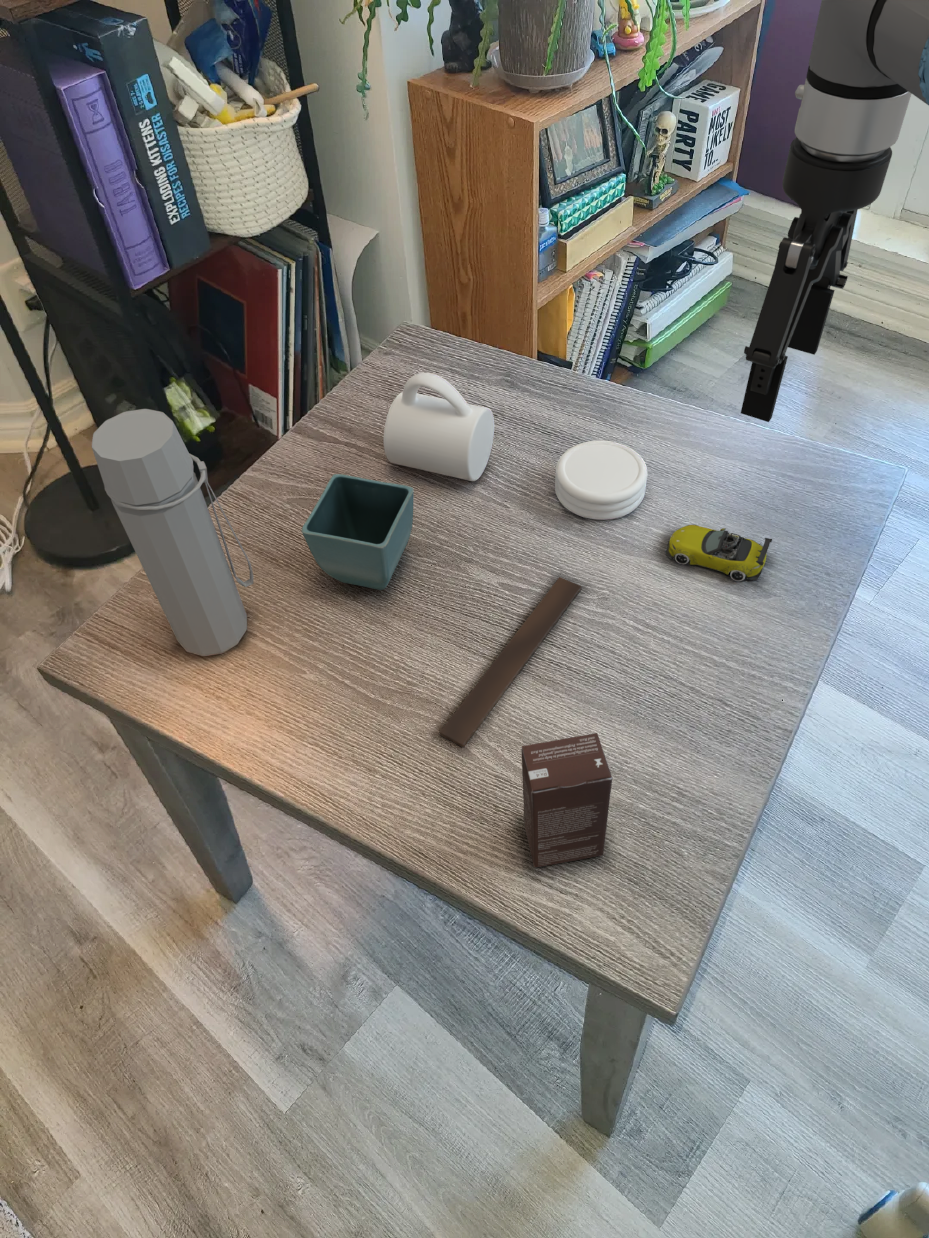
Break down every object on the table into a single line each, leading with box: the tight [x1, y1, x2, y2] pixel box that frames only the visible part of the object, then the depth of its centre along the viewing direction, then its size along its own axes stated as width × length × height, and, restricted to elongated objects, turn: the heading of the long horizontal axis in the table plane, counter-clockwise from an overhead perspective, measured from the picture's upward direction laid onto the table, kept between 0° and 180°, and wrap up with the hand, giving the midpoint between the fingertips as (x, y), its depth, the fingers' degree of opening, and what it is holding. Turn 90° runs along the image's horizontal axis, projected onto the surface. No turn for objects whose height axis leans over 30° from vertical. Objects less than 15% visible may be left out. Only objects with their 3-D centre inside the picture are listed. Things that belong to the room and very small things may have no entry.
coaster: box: [554, 439, 649, 521], centre depth 99 cm, size 10×10×4 cm
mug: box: [383, 372, 495, 482], centre depth 100 cm, size 8×10×12 cm
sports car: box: [664, 524, 773, 582], centre depth 92 cm, size 5×10×3 cm, turn 64°
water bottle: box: [91, 408, 254, 657], centre depth 81 cm, size 9×8×25 cm
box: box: [521, 732, 613, 868], centre depth 69 cm, size 6×4×12 cm
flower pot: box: [301, 473, 415, 591], centre depth 91 cm, size 9×9×9 cm
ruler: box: [438, 576, 583, 748], centre depth 86 cm, size 3×22×1 cm, turn 147°
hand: (779, 381), depth 85 cm, fingers open, 11 cm apart
